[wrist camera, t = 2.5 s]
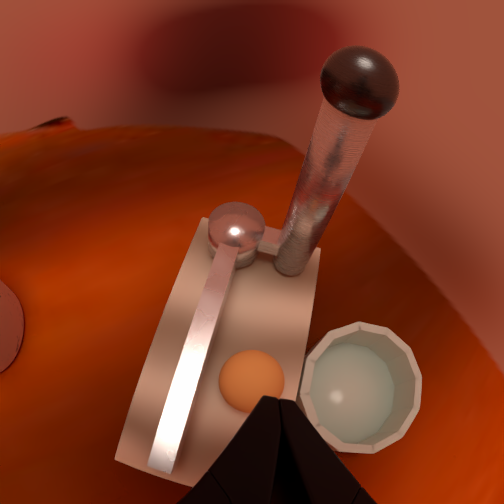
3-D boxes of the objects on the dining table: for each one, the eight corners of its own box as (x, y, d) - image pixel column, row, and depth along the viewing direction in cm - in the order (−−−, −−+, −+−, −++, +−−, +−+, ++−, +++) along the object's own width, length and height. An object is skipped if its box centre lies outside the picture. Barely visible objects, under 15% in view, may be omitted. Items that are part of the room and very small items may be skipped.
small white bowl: (410, 420, 20) (435, 415, 17) (310, 469, 17) (327, 475, 14) (373, 324, 24) (393, 308, 21) (272, 357, 22) (282, 345, 19)
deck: (260, 490, 16) (270, 503, 13) (131, 454, 16) (114, 459, 13) (306, 274, 26) (320, 248, 23) (202, 246, 26) (202, 217, 23)
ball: (284, 404, 16) (301, 398, 13) (227, 420, 15) (230, 419, 12) (267, 351, 18) (278, 334, 15) (211, 365, 17) (210, 351, 14)
